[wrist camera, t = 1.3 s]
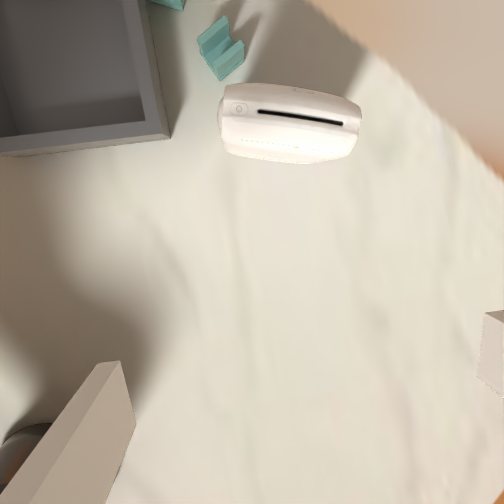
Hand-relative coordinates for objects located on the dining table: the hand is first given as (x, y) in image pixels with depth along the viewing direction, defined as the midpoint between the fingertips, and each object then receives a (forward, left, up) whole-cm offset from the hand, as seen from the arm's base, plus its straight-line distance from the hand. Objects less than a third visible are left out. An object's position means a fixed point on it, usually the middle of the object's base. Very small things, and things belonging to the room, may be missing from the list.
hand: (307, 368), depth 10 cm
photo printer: (+3, +10, -23) cm, 25 cm away
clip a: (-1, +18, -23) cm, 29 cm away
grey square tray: (-15, +19, -23) cm, 34 cm away
